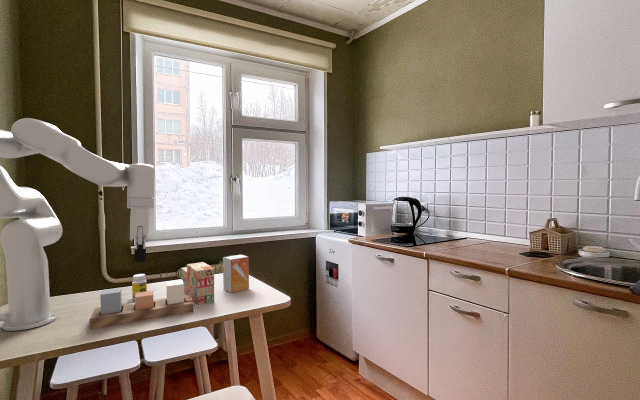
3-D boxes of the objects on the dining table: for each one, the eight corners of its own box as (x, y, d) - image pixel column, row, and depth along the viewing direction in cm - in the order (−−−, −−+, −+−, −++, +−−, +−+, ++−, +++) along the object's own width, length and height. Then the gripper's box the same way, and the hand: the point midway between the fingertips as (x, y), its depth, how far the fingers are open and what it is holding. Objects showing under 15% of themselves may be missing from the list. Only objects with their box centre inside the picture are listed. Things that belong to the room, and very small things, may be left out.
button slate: (101, 314, 101) (100, 294, 101) (103, 309, 105) (102, 290, 105) (120, 311, 103) (119, 292, 103) (121, 306, 107) (121, 287, 107)
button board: (90, 329, 98) (89, 317, 97) (95, 317, 106) (94, 306, 106) (193, 312, 110) (193, 301, 110) (190, 303, 119) (190, 293, 119)
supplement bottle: (140, 300, 123) (140, 277, 123) (129, 299, 124) (128, 276, 124) (149, 296, 128) (149, 273, 127) (138, 295, 129) (138, 273, 128)
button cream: (167, 304, 109) (166, 286, 109) (166, 300, 113) (166, 282, 113) (184, 302, 111) (183, 283, 111) (182, 297, 115) (182, 280, 115)
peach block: (135, 316, 105) (135, 297, 105) (136, 311, 109) (135, 292, 109) (153, 313, 107) (153, 294, 107) (153, 308, 112) (153, 290, 111)
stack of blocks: (181, 291, 134) (180, 259, 133) (197, 288, 137) (196, 257, 137) (196, 306, 116) (195, 270, 116) (215, 302, 120) (214, 267, 120)
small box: (231, 293, 129) (230, 259, 129) (223, 289, 134) (222, 257, 134) (249, 288, 135) (249, 256, 135) (241, 285, 140) (240, 254, 139)
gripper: (128, 202, 112) (127, 257, 112) (125, 204, 99) (124, 267, 99) (153, 202, 115) (153, 256, 116) (154, 204, 102) (153, 265, 102)
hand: (140, 261), depth 107 cm, fingers closed
